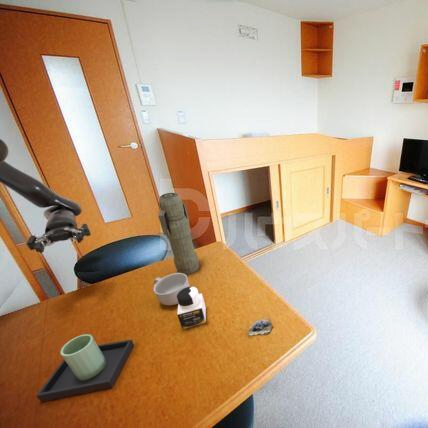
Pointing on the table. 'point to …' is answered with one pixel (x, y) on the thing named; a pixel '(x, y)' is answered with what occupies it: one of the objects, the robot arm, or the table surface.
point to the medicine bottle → (191, 307)
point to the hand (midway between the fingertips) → (59, 245)
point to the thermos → (178, 232)
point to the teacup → (170, 287)
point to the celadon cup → (83, 356)
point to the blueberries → (260, 327)
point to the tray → (70, 385)
